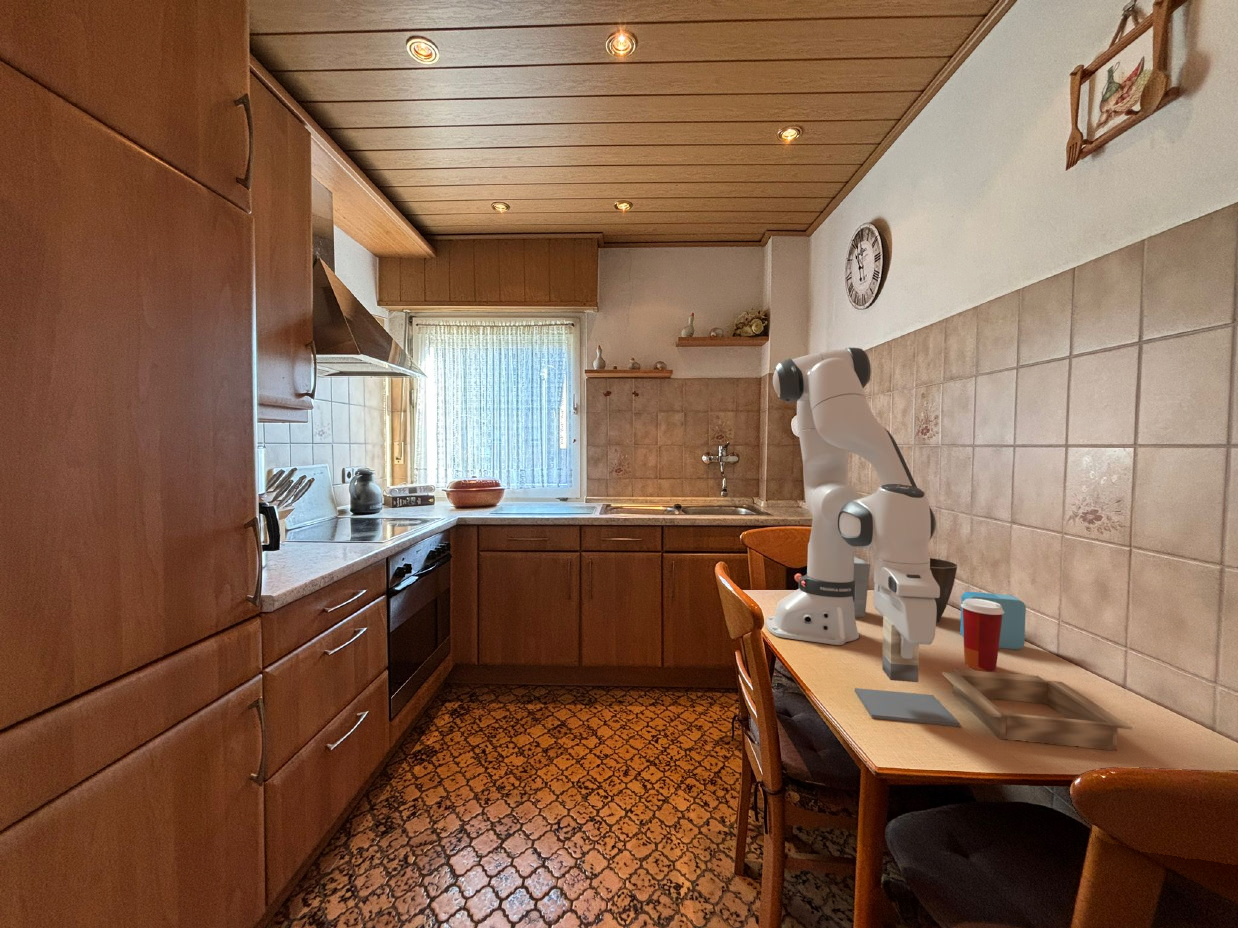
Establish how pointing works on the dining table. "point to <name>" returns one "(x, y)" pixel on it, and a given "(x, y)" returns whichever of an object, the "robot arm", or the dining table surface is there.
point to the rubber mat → (905, 707)
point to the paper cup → (981, 633)
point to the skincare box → (861, 586)
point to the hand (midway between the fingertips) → (899, 650)
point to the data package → (1004, 618)
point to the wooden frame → (1080, 729)
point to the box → (897, 656)
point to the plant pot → (943, 582)
